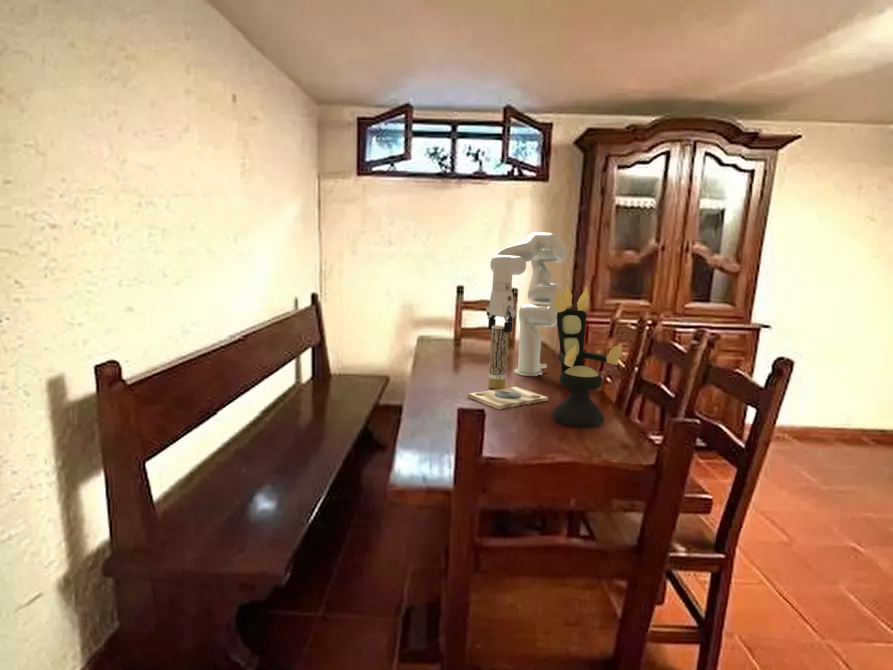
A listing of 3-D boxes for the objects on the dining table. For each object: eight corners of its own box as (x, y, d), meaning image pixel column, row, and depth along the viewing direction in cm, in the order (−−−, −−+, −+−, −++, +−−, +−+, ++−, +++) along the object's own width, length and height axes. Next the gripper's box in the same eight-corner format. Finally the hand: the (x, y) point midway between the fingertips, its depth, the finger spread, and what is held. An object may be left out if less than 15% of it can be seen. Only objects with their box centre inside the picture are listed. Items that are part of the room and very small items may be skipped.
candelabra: (568, 432, 184) (579, 288, 177) (531, 412, 204) (539, 282, 197) (617, 426, 192) (629, 288, 185) (576, 408, 212) (585, 283, 205)
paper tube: (484, 387, 238) (488, 325, 234) (495, 384, 243) (498, 324, 239) (498, 390, 233) (501, 328, 229) (508, 387, 238) (512, 326, 234)
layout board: (515, 390, 235) (516, 386, 234) (547, 401, 220) (548, 396, 220) (467, 397, 221) (467, 393, 221) (498, 409, 206) (498, 404, 206)
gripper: (523, 289, 227) (521, 333, 229) (495, 286, 241) (492, 327, 243) (509, 289, 222) (506, 334, 225) (480, 285, 236) (478, 328, 239)
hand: (499, 330), depth 234 cm, fingers open, 9 cm apart
